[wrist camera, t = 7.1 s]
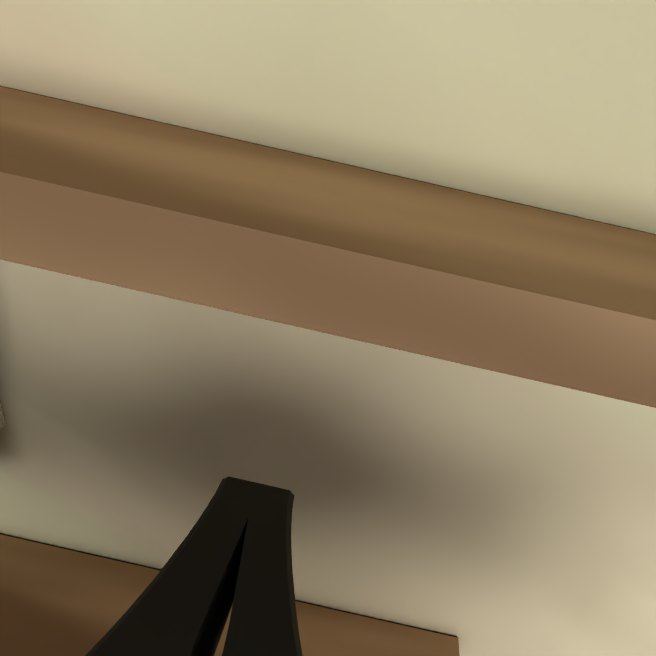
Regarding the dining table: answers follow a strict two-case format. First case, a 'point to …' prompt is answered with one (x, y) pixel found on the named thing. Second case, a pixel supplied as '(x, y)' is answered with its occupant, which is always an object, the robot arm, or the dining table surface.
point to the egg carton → (1, 417)
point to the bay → (302, 300)
